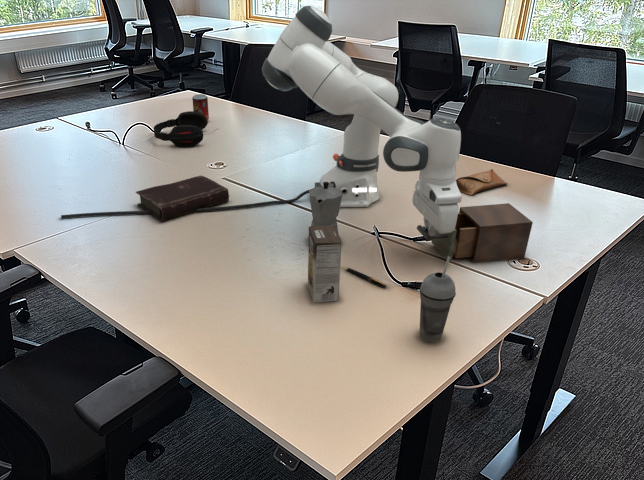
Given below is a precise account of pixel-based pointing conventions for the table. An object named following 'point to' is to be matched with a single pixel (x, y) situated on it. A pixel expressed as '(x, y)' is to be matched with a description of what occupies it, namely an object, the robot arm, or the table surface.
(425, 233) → the drawer
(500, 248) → the cabinet
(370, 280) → the fountain pen
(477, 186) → the sunglasses case
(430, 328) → the beverage cup
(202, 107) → the soda can
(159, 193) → the diary
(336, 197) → the coffeepot
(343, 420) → the table surface
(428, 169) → the robot arm
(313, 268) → the coffee box
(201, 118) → the headset
